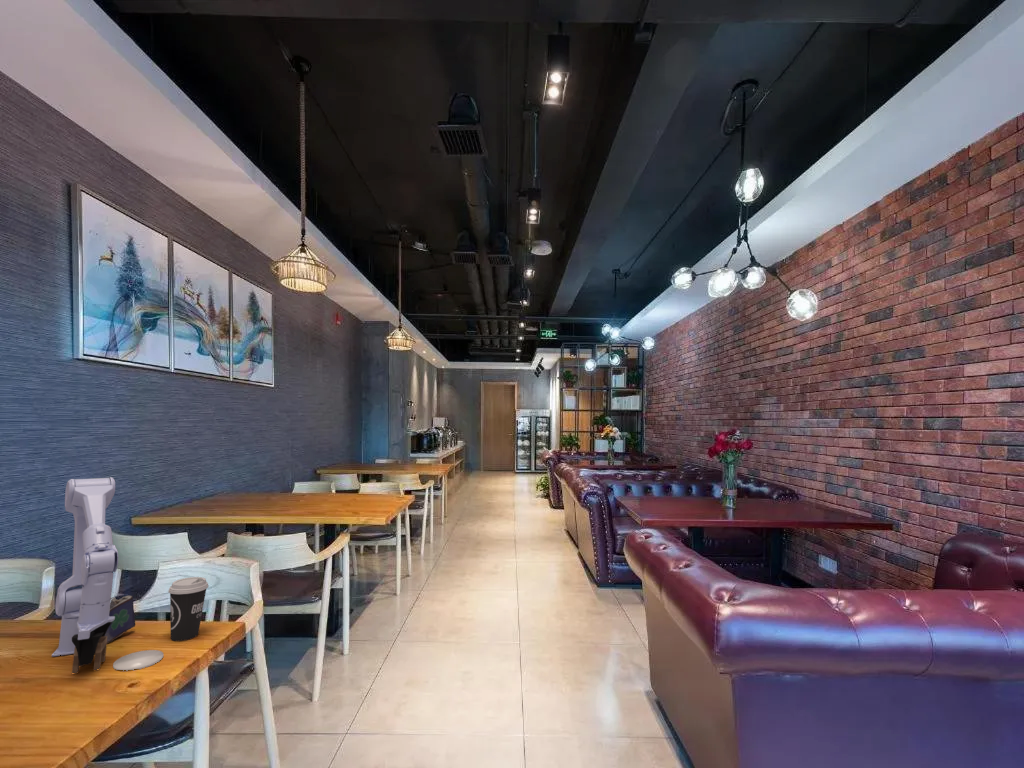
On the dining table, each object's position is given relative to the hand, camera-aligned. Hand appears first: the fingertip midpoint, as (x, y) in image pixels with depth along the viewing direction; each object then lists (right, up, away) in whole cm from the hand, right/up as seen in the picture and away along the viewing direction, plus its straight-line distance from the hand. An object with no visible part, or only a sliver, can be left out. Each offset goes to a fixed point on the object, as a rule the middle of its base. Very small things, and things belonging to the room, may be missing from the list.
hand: (89, 659), depth 118 cm
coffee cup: (+11, -4, +18) cm, 22 cm away
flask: (-7, -3, +17) cm, 18 cm away
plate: (+9, -3, +3) cm, 10 cm away
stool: (0, -2, 0) cm, 2 cm away
